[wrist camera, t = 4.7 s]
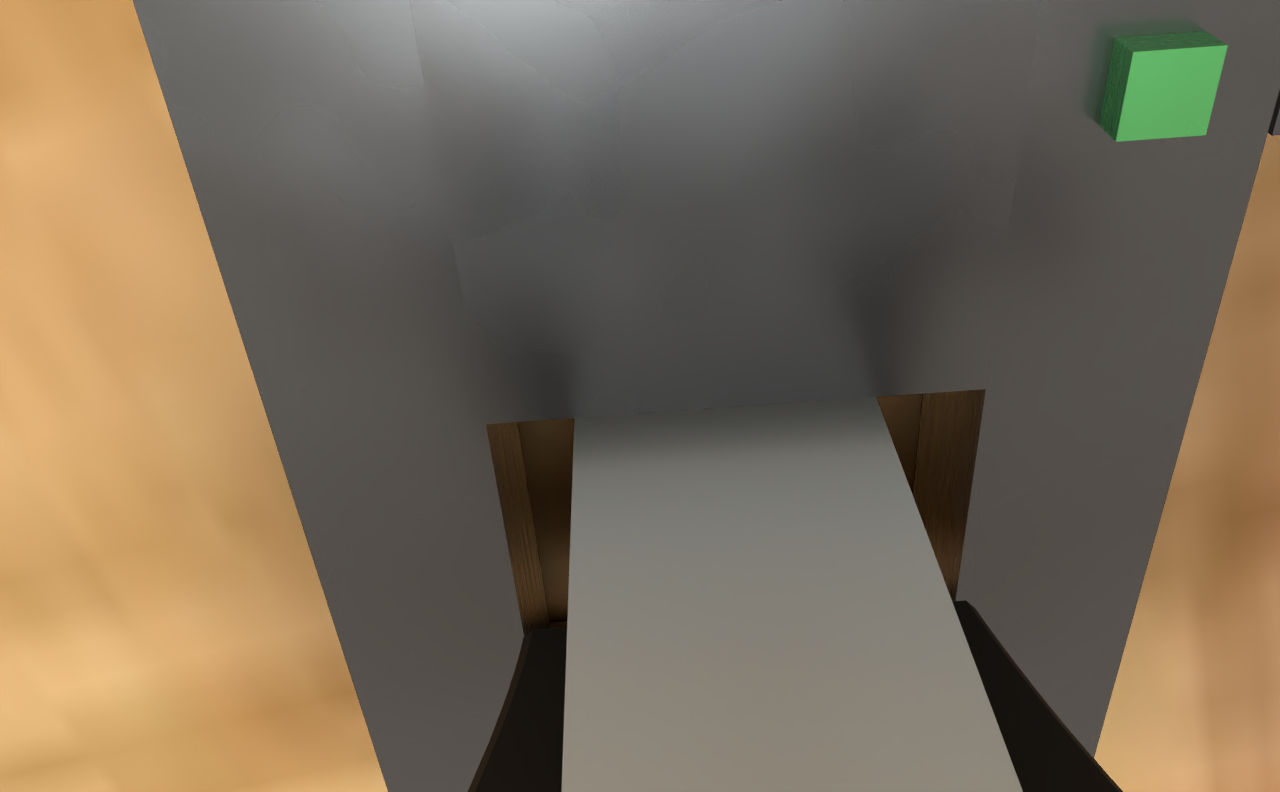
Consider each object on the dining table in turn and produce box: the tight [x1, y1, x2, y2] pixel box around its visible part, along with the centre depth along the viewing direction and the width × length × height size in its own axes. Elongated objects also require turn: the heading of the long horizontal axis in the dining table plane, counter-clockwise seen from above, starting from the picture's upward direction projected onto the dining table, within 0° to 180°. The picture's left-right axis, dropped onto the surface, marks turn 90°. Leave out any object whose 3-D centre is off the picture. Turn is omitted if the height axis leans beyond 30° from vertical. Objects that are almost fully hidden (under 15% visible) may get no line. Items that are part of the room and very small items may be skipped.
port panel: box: [133, 0, 1280, 792], centre depth 14 cm, size 10×16×3 cm, turn 4°
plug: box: [561, 397, 1023, 792], centre depth 11 cm, size 4×4×8 cm
